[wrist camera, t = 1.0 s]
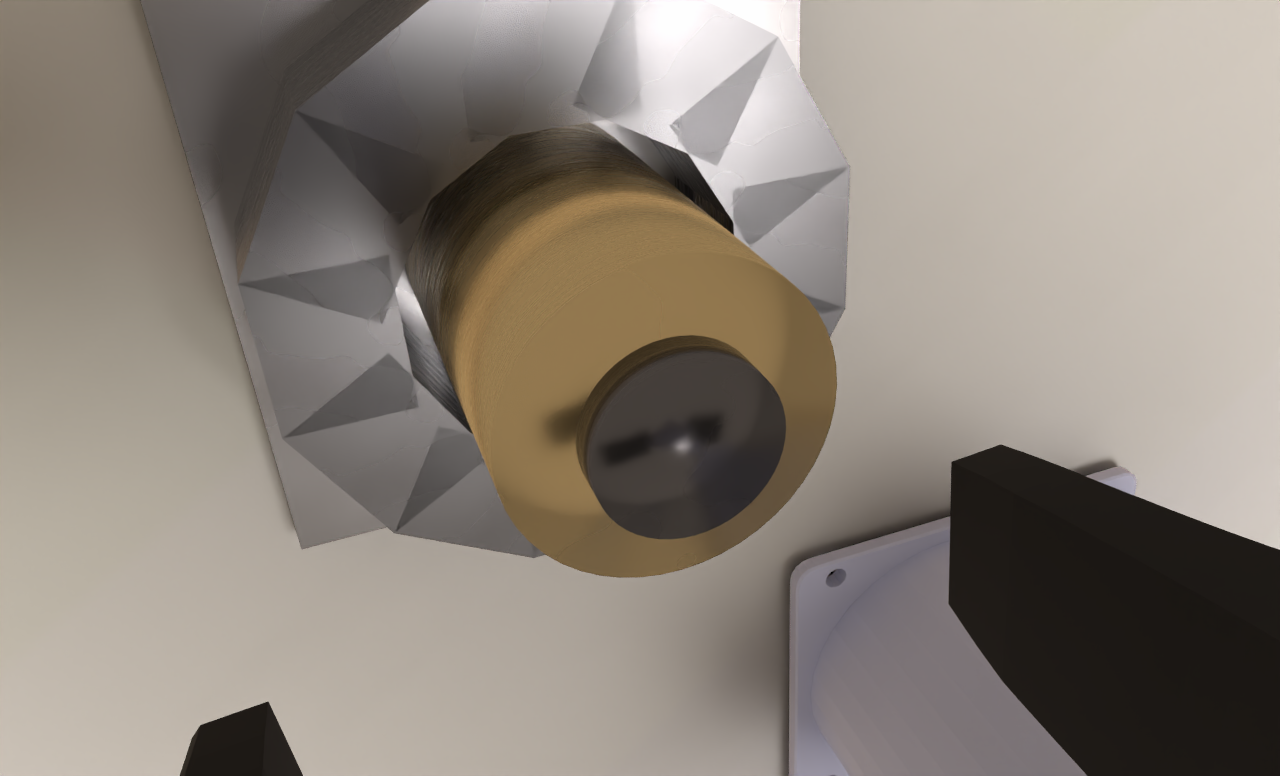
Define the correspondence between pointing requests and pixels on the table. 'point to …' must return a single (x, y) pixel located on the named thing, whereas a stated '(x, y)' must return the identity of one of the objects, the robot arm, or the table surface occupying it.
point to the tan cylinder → (619, 355)
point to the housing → (427, 163)
